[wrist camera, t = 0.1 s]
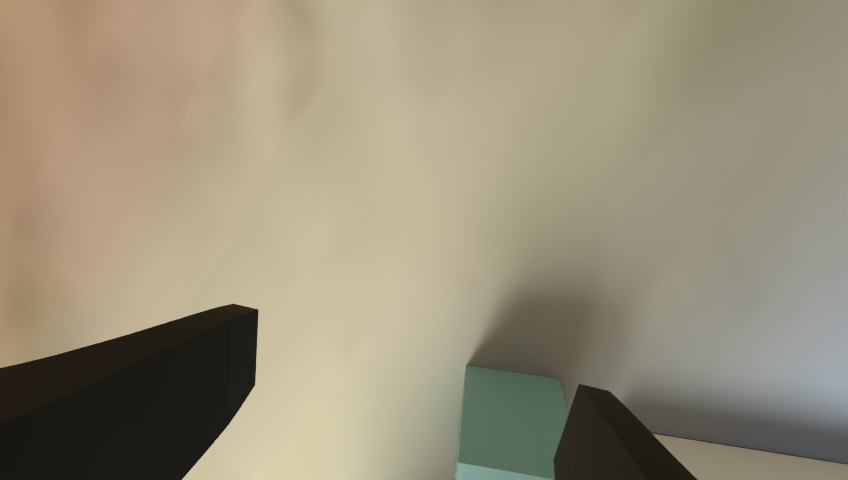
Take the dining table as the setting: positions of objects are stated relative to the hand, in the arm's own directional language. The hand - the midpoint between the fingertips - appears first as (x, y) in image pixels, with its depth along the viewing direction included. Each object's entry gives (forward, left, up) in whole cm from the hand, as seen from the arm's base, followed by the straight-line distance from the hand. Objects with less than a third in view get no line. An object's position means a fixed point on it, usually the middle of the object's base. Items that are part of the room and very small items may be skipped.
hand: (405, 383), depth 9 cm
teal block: (-8, -4, -10) cm, 13 cm away
